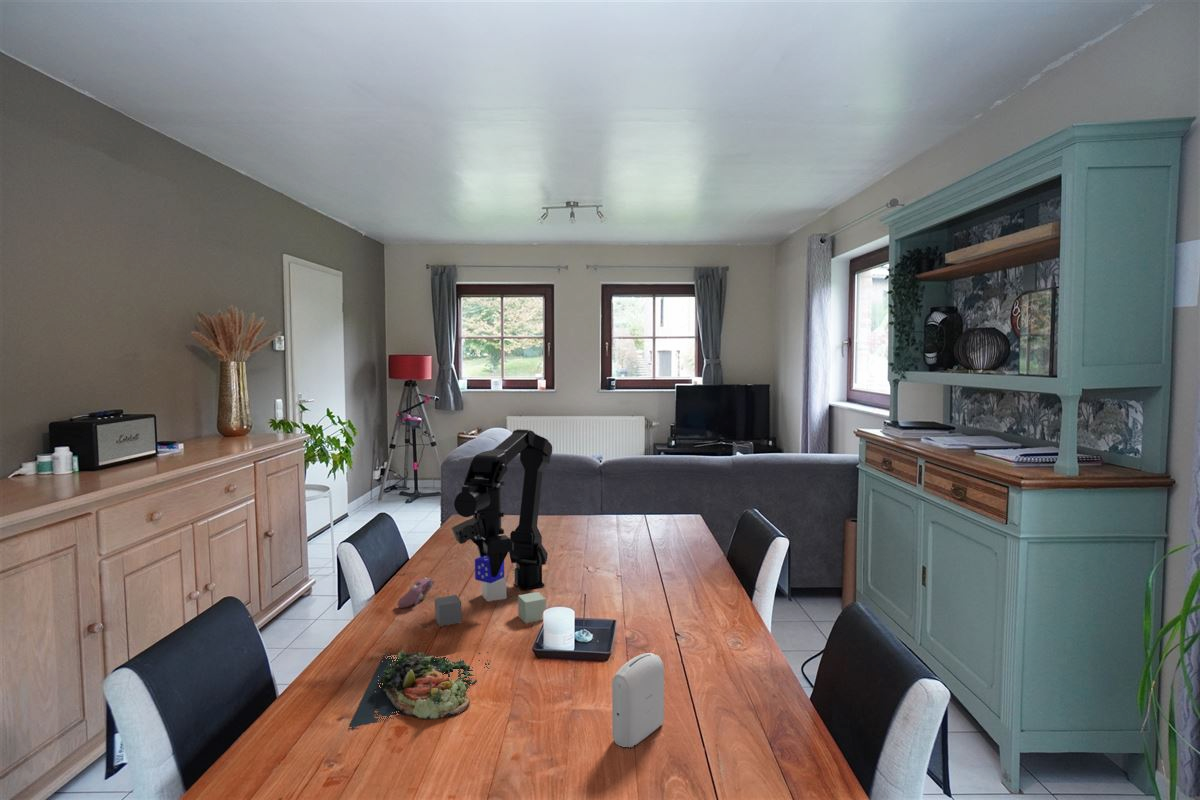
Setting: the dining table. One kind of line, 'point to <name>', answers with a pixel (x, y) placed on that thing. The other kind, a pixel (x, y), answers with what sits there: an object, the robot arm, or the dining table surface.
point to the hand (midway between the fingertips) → (489, 572)
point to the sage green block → (531, 607)
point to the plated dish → (414, 689)
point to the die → (486, 570)
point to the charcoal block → (448, 610)
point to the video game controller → (416, 592)
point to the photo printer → (637, 699)
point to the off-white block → (494, 590)
